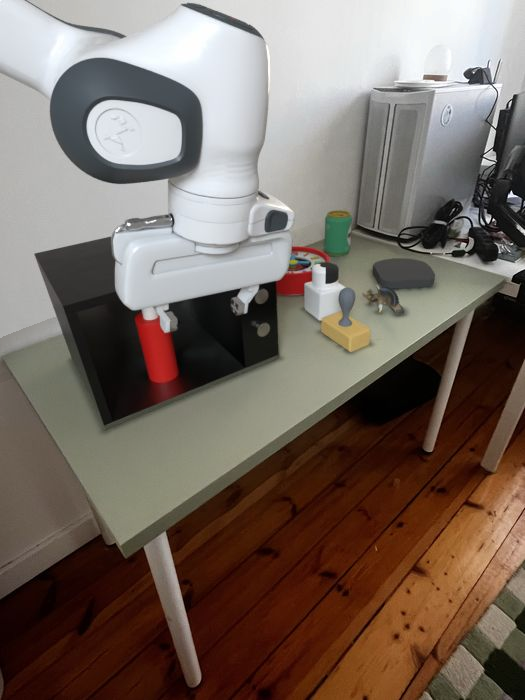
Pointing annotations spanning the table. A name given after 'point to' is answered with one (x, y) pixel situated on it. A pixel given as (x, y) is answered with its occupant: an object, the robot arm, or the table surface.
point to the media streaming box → (403, 273)
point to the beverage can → (337, 232)
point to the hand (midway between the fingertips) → (205, 320)
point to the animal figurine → (385, 299)
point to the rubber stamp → (346, 324)
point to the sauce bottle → (156, 347)
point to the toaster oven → (124, 343)
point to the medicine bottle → (323, 291)
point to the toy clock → (299, 270)
